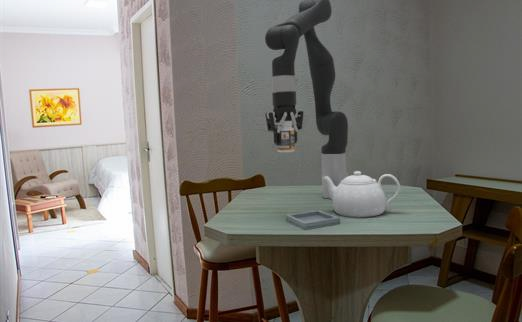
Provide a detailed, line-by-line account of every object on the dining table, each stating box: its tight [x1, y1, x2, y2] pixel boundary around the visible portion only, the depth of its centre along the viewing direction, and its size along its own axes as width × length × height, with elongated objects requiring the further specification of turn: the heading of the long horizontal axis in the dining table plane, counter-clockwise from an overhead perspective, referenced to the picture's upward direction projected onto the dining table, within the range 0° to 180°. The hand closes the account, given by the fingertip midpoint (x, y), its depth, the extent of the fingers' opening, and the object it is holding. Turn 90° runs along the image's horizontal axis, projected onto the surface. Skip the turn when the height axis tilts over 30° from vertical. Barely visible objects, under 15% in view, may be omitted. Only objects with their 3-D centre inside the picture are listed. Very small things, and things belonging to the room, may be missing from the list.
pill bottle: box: [276, 121, 296, 153], centre depth 136 cm, size 6×6×10 cm
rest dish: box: [285, 209, 341, 230], centre depth 129 cm, size 12×12×2 cm
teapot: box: [320, 170, 401, 218], centre depth 139 cm, size 19×18×14 cm
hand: (285, 143), depth 136 cm, fingers closed on pill bottle, 5 cm apart
